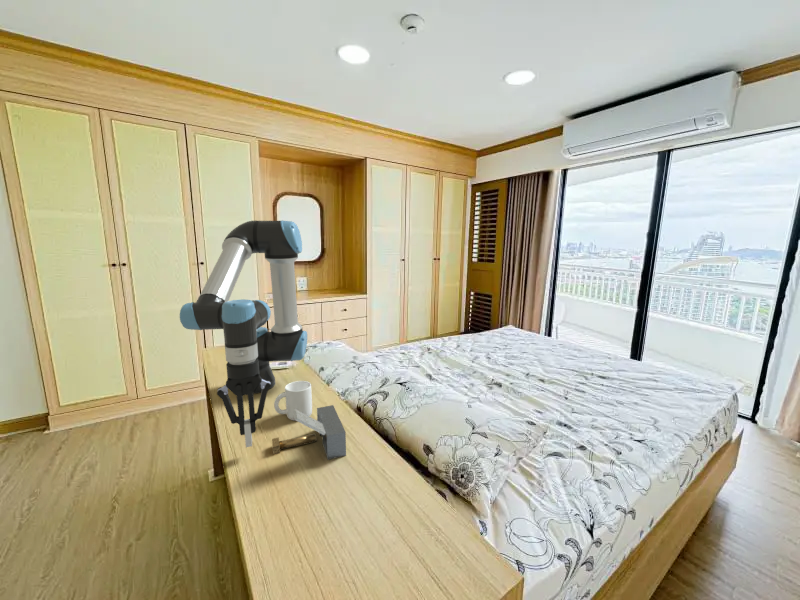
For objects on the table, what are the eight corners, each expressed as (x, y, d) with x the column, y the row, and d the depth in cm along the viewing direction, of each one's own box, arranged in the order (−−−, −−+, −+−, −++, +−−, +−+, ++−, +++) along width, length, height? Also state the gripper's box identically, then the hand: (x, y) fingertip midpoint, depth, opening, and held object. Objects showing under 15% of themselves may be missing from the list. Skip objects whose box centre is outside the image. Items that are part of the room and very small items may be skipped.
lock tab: (293, 411, 89) (295, 409, 89) (320, 425, 92) (322, 423, 92) (295, 420, 84) (297, 418, 84) (324, 435, 88) (325, 433, 88)
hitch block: (317, 429, 103) (316, 408, 102) (333, 425, 105) (333, 405, 104) (327, 459, 89) (326, 435, 87) (346, 455, 91) (345, 431, 89)
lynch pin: (273, 454, 91) (272, 446, 90) (272, 446, 94) (272, 438, 94) (317, 444, 95) (316, 437, 95) (314, 437, 99) (314, 429, 99)
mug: (277, 426, 104) (275, 396, 103) (273, 415, 111) (271, 386, 110) (315, 417, 110) (314, 387, 108) (308, 406, 117) (307, 378, 116)
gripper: (211, 368, 80) (220, 458, 84) (270, 361, 85) (275, 446, 89) (215, 358, 87) (223, 442, 90) (269, 352, 92) (274, 431, 95)
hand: (249, 444), depth 89 cm, fingers closed
